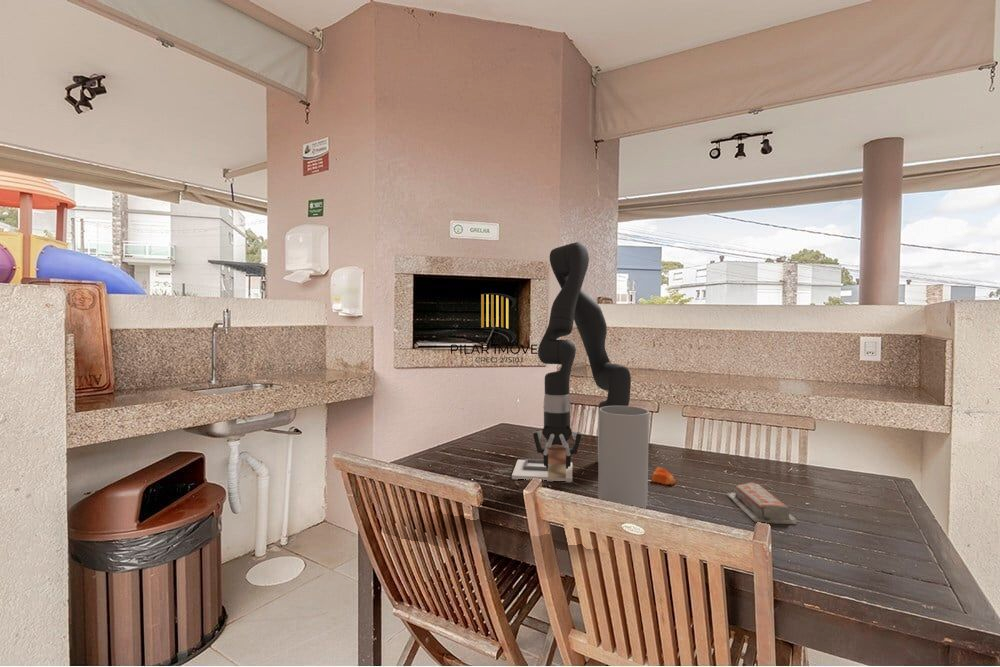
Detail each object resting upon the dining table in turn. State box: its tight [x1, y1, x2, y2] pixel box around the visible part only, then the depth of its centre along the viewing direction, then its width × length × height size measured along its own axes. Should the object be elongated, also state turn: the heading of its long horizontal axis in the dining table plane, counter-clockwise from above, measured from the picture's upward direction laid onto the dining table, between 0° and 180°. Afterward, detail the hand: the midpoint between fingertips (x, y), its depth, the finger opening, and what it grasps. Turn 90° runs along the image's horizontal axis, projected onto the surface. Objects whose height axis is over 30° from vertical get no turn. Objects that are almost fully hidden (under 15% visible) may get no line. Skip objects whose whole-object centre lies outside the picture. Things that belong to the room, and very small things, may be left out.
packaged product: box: [726, 482, 797, 525], centre depth 128 cm, size 18×5×10 cm
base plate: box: [511, 458, 573, 483], centre depth 156 cm, size 18×16×2 cm
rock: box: [651, 466, 676, 486], centre depth 148 cm, size 12×12×4 cm
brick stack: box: [548, 444, 566, 478], centre depth 143 cm, size 5×5×8 cm
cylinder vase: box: [597, 405, 650, 509], centre depth 129 cm, size 12×12×25 cm
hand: (557, 467), depth 143 cm, fingers closed on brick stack, 5 cm apart
